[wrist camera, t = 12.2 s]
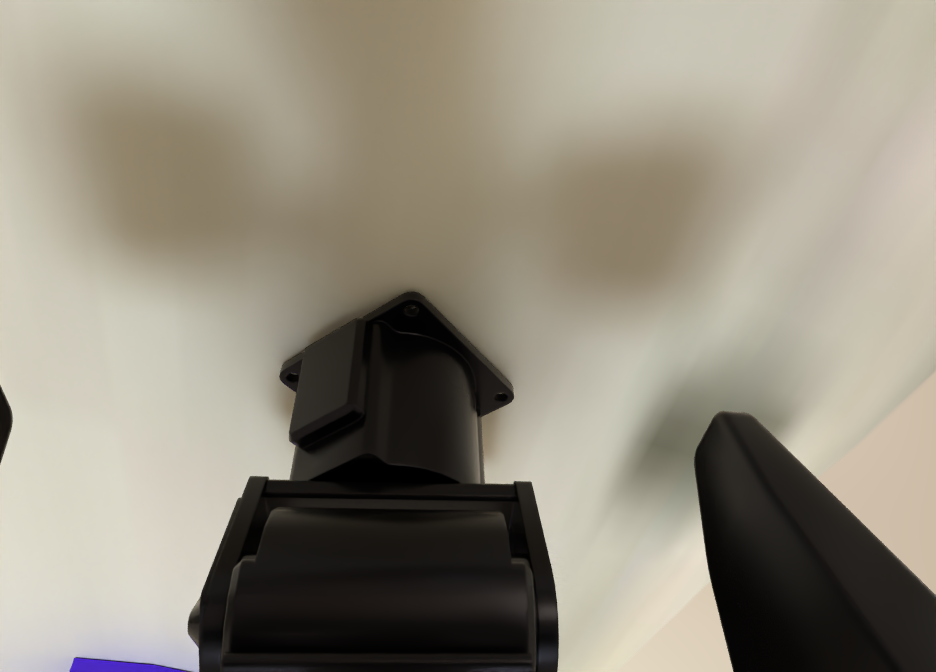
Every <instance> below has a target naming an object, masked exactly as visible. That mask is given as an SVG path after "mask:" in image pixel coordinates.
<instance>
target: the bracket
mask: <svg viewBox="0 0 936 672" xmlns="http://www.w3.org/2000/svg"><path fill="white" fill-rule="evenodd" d="M70 672H186V671H181V670H176V669H171V668H166V667H162V666H157V665H149V664H137V663H126V662H115V661H104V660H92V659H81V658H74V661H73V664H72V666H71V669H70Z"/></svg>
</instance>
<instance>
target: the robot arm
mask: <svg viewBox="0 0 936 672" xmlns="http://www.w3.org/2000/svg"><path fill="white" fill-rule="evenodd" d="M409 305H415V306H416V307H417V308H413V309H412V308H408V307H406V306H409ZM291 373H296V374H297V375H295V374H291ZM279 377H280V380H281V381H282V382H283V383H284V384H285V385H286V386H288V387H289V388H290V389H292V390H293V391H294V392H296V398H295V403H294V409H293V414H292V419H291V425H290V430H289V441H290V442H291V443H293V444H294V445H296V447H295V452H294V458H293V464H292V469H291V475H290V480H269V477H261V476H250V477H249V480H248V482H247V485H246V487H245V490H244V493H243V495H242V498H238V500H237V502H236V505H235V508H234V510H233V513H232V515H231V518H230V520H229V523H228V526H227V528H226V531H225V533H224V536H223V538H222V541H221V544H220V546H219V549H218V551H217V554H216V557H215V559H214V562H213V564H212V567H211V569H210V572H209V575H208V577H207V580H206V582H205V585H204V587H203V590H202V593H201V597H200V598H199V600H198V601H197V603H196V605H195V606H194V608H193V609H192V611H191V613H190V616H189V620H188V634H189V636H190V637H191V638H192V640H193V641H194V642H195V644H196V645H197V646H198V648H199V672H557V668H558V647H559V633H558V611H557V599H556V591H555V583H554V578H553V572H552V568H551V564H550V559H549V555H548V551H547V546H546V542H545V538H544V534H543V529H542V525H541V521H540V516H539V512H538V508H537V504H536V499H535V495H534V491H533V486H532V482H521V481H514V484H485V479H484V461H483V444H482V426H481V417H482V416H484V415H486V414H488V413H490V412H492V411H495V410H497V409H499V408H501V407H503V406H505V405H507V404H509V403H510V402H512V400H513V399H514V392H513V386H512V385H511V383H510V382H509V381H508V380H507V379H506V378H505V377H504V376H503V375H502V374H501V373H500V372H499V371H498V370H497V369H496V368H495V367H494V366H493V365H492V364H491V363H490V362H489V361H488V360H487V359H486V358H485V357H484V356H483V355H482V354H481V353H480V352H479V351H478V350H477V349H476V348H475V347H474V346H473V345H472V344H471V343H470V342H469V341H468V340H467V339H466V338H465V337H464V336H463V335H462V334H461V333H460V332H459V331H458V330H457V329H456V328H455V327H454V326H453V325H452V324H451V323H450V322H449V321H448V320H447V319H446V318H445V317H444V316H443V315H442V314H441V313H440V312H439V311H438V310H437V309H436V308H435V307H434V306H433V305H432V304H431V303H430V302H429V301H428V300H427V299H426V298H425V297H424V296H422V295H421V294H420V293H416V292H407V293H404V294H402V295H400V296H398V297H397V298H395V299H393V300H391V301H390V302H388V303H386V304H385V305H383V306H381V307H379V308H378V309H376V310H374V311H373V312H371V313H369V314H367V315H366V316H364V317H362V318H358V319H354V320H353V321H351V322H349V323H348V324H346V325H344V326H342V327H341V328H339V329H337V330H336V331H334V332H332V333H330V334H329V335H327V336H325V337H324V338H322V339H320V340H318V341H317V342H315V343H313V344H312V345H310V346H308V347H307V348H306V349H305V351H304V352H302V353H300V354H299V355H297V356H295V357H293V358H292V359H290V360H288V361H287V362H285V363H284V364H283V365H282V367H281V371H280V376H279ZM497 393H502V394H497ZM12 422H13V416H12V411H11V408H10V405H9V403H8V401H7V399H6V397H5V394H4V392H3V390H2V388H1V386H0V463H1V460H2V457H3V454H4V451H5V448H6V445H7V441H8V438H9V435H10V432H11V428H12ZM694 468H695V475H696V483H697V490H698V498H699V505H700V513H701V520H702V528H703V535H704V543H705V551H706V557H707V563H708V570H709V574H710V579H711V583H712V588H713V592H714V596H715V600H716V604H717V607H718V612H719V615H720V620H721V624H722V628H723V632H724V636H725V640H726V643H727V648H728V652H729V655H730V660H731V664H732V667H733V672H936V595H935V594H934V593H933V592H932V591H931V590H930V589H929V588H928V587H927V586H926V585H925V584H924V583H923V582H922V581H921V580H920V579H919V578H918V577H917V576H916V575H915V574H914V573H913V572H912V571H911V570H910V569H908V567H907V566H906V565H904V564H903V563H902V562H901V561H900V560H899V559H898V558H897V557H896V556H895V555H894V554H893V553H892V552H891V551H890V550H889V549H888V548H887V547H886V546H885V545H884V544H883V543H882V542H881V541H880V540H879V539H878V538H877V537H876V536H875V535H874V534H873V533H872V532H871V531H870V530H869V529H868V528H867V527H866V526H865V525H864V524H863V523H862V522H861V521H860V520H859V519H858V518H857V517H856V516H855V515H854V514H853V513H851V511H850V510H849V509H847V508H846V507H845V506H844V505H843V504H842V503H841V502H840V501H839V500H838V499H837V498H836V497H835V496H834V495H833V494H832V493H831V492H830V491H829V490H828V489H827V488H826V487H825V486H824V485H823V484H822V483H821V482H820V481H819V480H818V479H817V478H816V477H815V476H814V475H813V474H812V473H811V472H810V471H809V470H808V469H807V468H806V467H805V466H804V465H803V464H802V463H801V462H800V461H799V460H798V459H797V458H796V457H794V456H793V455H792V454H791V453H790V452H789V451H788V450H787V449H786V448H785V447H784V446H783V445H782V444H781V443H780V442H779V441H778V440H777V439H776V438H775V437H774V436H773V435H772V434H771V433H770V432H769V431H768V430H767V429H766V428H765V427H764V426H763V425H762V424H761V423H760V422H759V421H758V420H757V419H756V418H755V417H753V416H752V415H750V414H748V413H745V412H731V411H721V412H719V413H717V414H716V415H715V416H714V417H713V419H712V421H711V423H710V424H709V426H708V428H707V430H706V432H705V434H704V435H703V437H702V439H701V441H700V443H699V445H698V446H697V449H696V452H695V457H694Z"/></svg>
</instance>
